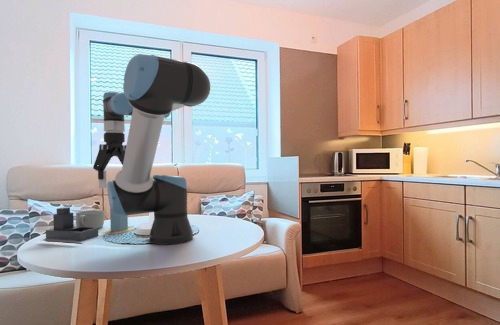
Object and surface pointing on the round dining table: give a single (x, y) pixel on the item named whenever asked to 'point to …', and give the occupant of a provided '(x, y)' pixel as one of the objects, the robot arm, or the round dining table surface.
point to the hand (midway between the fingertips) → (115, 186)
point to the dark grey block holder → (68, 228)
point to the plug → (118, 222)
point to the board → (116, 231)
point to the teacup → (90, 218)
